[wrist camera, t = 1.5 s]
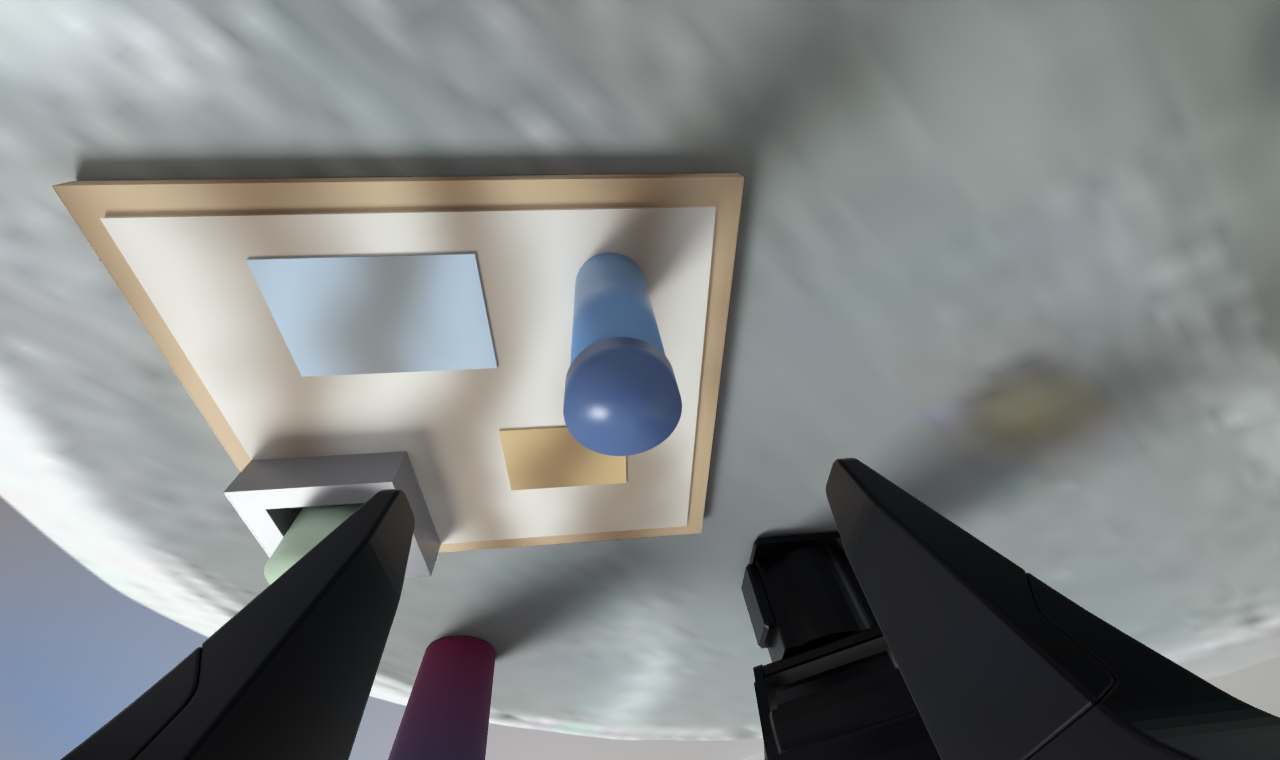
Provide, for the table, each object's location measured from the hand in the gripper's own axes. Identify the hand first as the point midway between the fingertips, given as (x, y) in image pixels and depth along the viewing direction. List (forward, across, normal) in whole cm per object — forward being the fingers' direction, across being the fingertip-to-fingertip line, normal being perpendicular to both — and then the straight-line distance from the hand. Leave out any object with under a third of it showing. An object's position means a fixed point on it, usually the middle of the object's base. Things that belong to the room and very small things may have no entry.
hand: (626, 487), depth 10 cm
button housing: (+11, +14, +11) cm, 21 cm away
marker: (+11, 0, 0) cm, 11 cm away
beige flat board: (+12, +6, +6) cm, 15 cm away
